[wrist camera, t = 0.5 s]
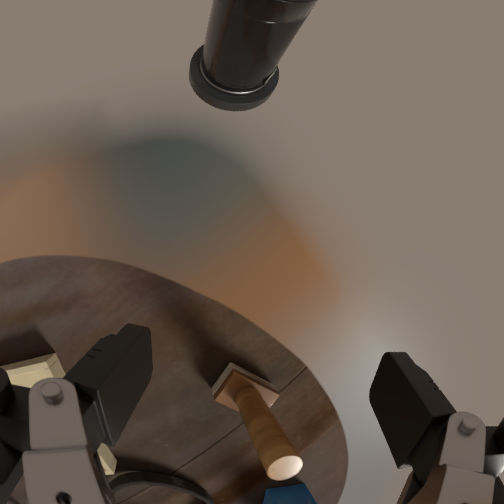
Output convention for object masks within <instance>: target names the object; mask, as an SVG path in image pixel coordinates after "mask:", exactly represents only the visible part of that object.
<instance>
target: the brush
mask: <svg viewBox="0 0 504 504" xmlns="http://www.w3.org/2000/svg"><path fill="white" fill-rule="evenodd" d="M211 389H212V393H213V396H214V400H215V401H217V402H219V403H221V404H223V405H225V406H227V407H229V408H232V409H234V410H236V411H238V412H240V414H241V417H242V419H243V421H244V424H245V426H246V429H247V431H248V433H249V436H250V438H251V440H252V442H253V445H254V447H255V449H256V451H257V454H258V456H259V458H260V460H261V462H262V465H263V467H264V469H265V471H266V473H267V475H268V477H270V478H271V479H273V480H285V479H288V478H291V477H293V476H294V475H296V474H297V473H298V472H299V471H300V470H301V468H302V466H303V460H302V458H301V457H300V455H299V454H298V452H297V451H296V449H295V448H294V446H293V445H292V443H291V442H290V440H289V439H288V437H287V436H286V434H285V432H284V431H283V429H282V428H281V426H280V425H279V423H278V421H277V420H276V418H275V417H274V415H273V413H272V412H271V410H270V409H269V408H270V407H271V406H272V404H273V403H274V402H275V401H276V399H277V398H278V397H279V395H280V394H279V393H278V392H277V390H276V389H275V387H274V386H273V385H272V384H271V383H269V382H267V381H265V380H264V379H262V378H260V377H258V376H256V375H254V374H252V373H250V372H248V371H246V370H245V369H243V368H241V367H239V366H237V365H235V364H234V363H232V362H230V363H229V364H228V366H227V367H226V369H225V370H224V371H223V373H222V374H221V376H220V377H219V378H218V380H217V381H216V383H215V384H214V385H213V387H212V388H211Z"/></svg>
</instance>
